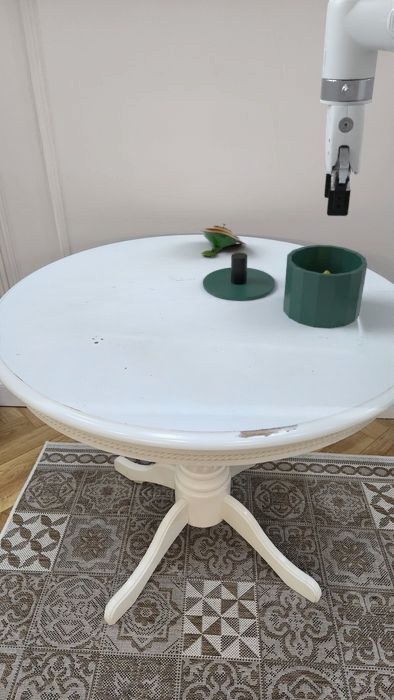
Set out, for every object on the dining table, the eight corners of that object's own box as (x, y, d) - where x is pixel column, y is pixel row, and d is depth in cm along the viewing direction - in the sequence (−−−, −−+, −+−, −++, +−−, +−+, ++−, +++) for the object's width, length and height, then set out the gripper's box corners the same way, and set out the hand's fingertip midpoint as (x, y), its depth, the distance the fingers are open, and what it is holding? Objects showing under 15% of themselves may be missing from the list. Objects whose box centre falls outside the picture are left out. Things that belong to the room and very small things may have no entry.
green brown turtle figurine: (247, 265, 117) (258, 227, 116) (189, 248, 116) (199, 210, 115) (237, 269, 132) (246, 235, 131) (185, 254, 130) (194, 220, 130)
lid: (275, 273, 114) (277, 243, 110) (273, 305, 101) (275, 272, 98) (208, 270, 116) (207, 240, 112) (197, 301, 103) (196, 268, 100)
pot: (354, 297, 103) (362, 246, 98) (361, 333, 92) (370, 277, 86) (283, 294, 105) (287, 243, 100) (282, 328, 94) (286, 273, 88)
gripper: (380, 98, 71) (364, 223, 80) (366, 84, 85) (354, 191, 94) (323, 99, 72) (313, 222, 81) (318, 85, 87) (311, 191, 96)
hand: (335, 206), depth 88 cm, fingers open, 9 cm apart
